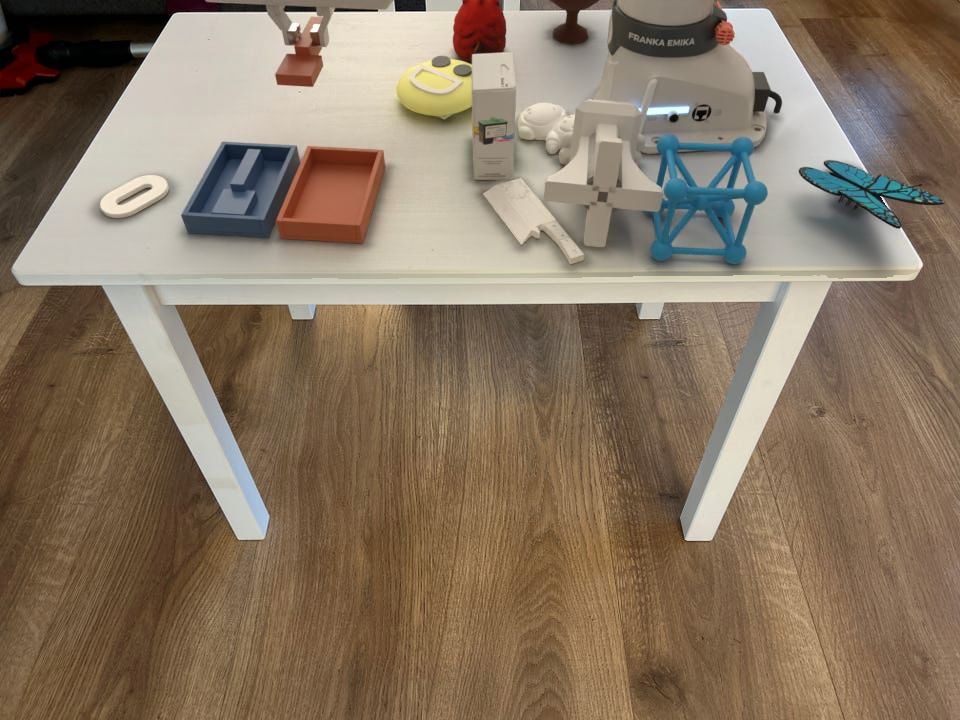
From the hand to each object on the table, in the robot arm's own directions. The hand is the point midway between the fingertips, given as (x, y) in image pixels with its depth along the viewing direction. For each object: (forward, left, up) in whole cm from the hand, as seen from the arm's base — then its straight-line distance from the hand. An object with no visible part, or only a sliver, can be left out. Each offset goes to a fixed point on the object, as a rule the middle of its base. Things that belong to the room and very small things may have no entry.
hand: (307, 44), depth 81 cm
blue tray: (+8, +7, -15) cm, 19 cm away
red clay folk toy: (-16, -28, -15) cm, 36 cm away
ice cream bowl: (-29, -36, -15) cm, 49 cm away
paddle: (+8, +7, -15) cm, 18 cm away
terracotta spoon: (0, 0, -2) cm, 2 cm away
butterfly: (-61, +4, -15) cm, 63 cm away
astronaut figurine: (-33, -5, -15) cm, 37 cm away
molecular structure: (-48, +10, -10) cm, 50 cm away
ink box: (-20, -3, -15) cm, 25 cm away
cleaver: (-24, +10, -16) cm, 31 cm away
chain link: (+19, +10, -15) cm, 26 cm away
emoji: (-12, -16, -15) cm, 25 cm away
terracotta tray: (-2, +7, -15) cm, 17 cm away
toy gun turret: (-32, +13, -8) cm, 36 cm away
